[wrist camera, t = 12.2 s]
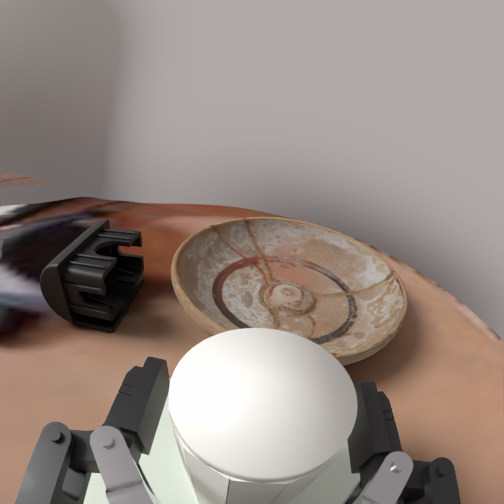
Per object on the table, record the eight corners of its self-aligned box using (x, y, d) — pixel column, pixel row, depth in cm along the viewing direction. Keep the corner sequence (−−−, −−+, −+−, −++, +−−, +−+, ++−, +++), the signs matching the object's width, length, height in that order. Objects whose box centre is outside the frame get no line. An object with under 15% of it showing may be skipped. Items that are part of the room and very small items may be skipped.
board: (71, 532, 7) (68, 531, 7) (132, 372, 20) (131, 369, 19) (389, 563, 7) (393, 562, 7) (365, 398, 19) (367, 395, 19)
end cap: (93, 270, 31) (85, 217, 28) (146, 277, 31) (142, 221, 28) (51, 322, 22) (31, 261, 19) (112, 338, 22) (96, 272, 19)
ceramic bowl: (124, 337, 23) (114, 291, 21) (228, 237, 43) (231, 204, 41) (393, 422, 17) (425, 383, 15) (385, 275, 37) (396, 243, 35)
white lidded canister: (182, 514, 10) (146, 458, 6) (198, 432, 16) (191, 318, 11) (292, 524, 10) (370, 473, 6) (292, 441, 16) (342, 334, 11)
